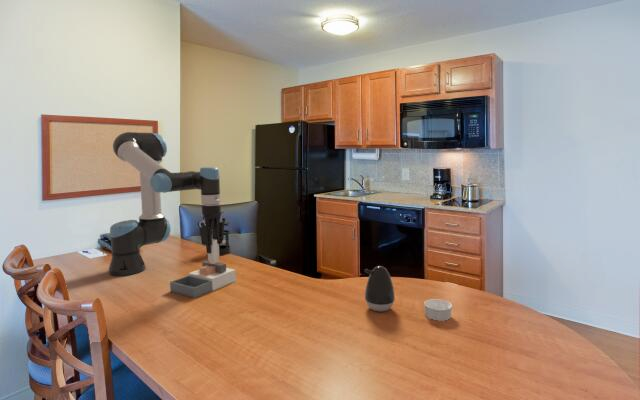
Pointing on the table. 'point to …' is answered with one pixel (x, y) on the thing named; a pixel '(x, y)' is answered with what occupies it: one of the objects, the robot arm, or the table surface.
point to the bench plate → (217, 277)
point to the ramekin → (438, 309)
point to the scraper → (215, 260)
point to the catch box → (191, 286)
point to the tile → (207, 270)
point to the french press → (224, 242)
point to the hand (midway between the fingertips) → (213, 259)
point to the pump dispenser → (379, 289)
